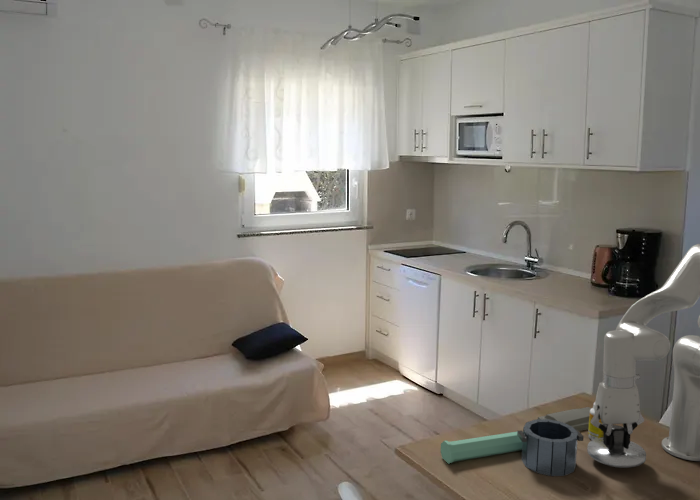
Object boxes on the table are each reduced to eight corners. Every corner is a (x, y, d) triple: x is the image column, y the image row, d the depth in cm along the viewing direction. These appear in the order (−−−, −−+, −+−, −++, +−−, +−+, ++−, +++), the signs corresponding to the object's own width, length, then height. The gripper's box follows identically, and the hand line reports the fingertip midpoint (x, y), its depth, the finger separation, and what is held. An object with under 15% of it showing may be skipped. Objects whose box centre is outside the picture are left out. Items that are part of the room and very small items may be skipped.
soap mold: (612, 425, 191) (613, 414, 190) (558, 437, 183) (559, 426, 183) (587, 412, 200) (588, 401, 200) (535, 423, 192) (535, 411, 192)
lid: (629, 438, 175) (630, 414, 173) (656, 465, 161) (658, 439, 160) (578, 442, 174) (579, 418, 173) (601, 469, 160) (602, 443, 159)
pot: (568, 450, 174) (570, 418, 173) (588, 475, 162) (591, 441, 160) (510, 451, 174) (512, 419, 172) (526, 476, 161) (528, 442, 159)
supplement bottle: (600, 445, 178) (603, 409, 176) (583, 437, 182) (586, 402, 181) (613, 439, 181) (616, 405, 179) (596, 432, 185) (598, 398, 184)
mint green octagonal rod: (525, 423, 177) (443, 435, 169) (536, 440, 172) (453, 453, 164) (519, 438, 180) (438, 451, 172) (530, 455, 175) (447, 469, 167)
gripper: (643, 372, 168) (640, 437, 171) (580, 376, 167) (578, 442, 171) (658, 383, 160) (655, 451, 164) (592, 387, 160) (591, 456, 163)
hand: (616, 446), depth 167 cm, fingers closed on lid, 3 cm apart
